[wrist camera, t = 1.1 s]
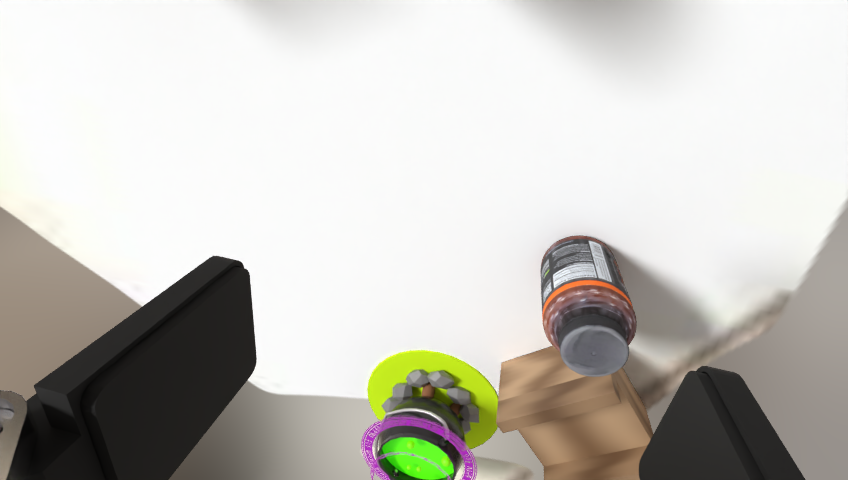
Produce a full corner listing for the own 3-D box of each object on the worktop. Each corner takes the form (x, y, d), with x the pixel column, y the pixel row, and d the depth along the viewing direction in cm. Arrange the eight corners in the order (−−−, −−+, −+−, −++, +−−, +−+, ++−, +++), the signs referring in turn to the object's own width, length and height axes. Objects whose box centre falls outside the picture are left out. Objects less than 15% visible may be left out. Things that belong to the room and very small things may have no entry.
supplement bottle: (615, 292, 36) (646, 392, 26) (543, 295, 38) (547, 390, 28) (614, 229, 34) (648, 313, 24) (537, 235, 36) (539, 316, 26)
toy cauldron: (421, 324, 43) (388, 411, 33) (531, 411, 45) (531, 517, 35) (344, 394, 50) (299, 483, 40) (441, 467, 52) (421, 568, 42)
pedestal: (600, 330, 38) (614, 392, 32) (645, 408, 41) (666, 479, 34) (501, 362, 42) (495, 423, 36) (547, 431, 45) (550, 499, 39)
